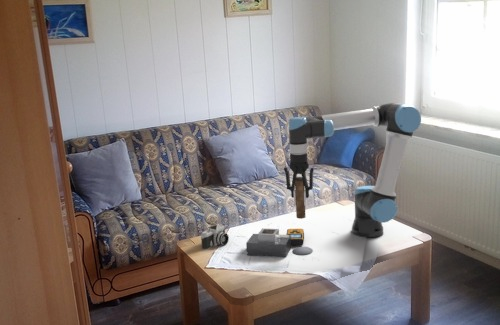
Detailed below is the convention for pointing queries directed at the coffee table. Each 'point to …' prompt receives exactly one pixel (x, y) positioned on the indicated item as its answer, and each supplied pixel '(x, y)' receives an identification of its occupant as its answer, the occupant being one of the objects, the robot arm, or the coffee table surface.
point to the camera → (214, 237)
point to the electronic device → (296, 236)
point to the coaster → (302, 250)
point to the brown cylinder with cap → (299, 197)
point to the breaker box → (269, 244)
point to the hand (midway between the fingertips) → (300, 204)
